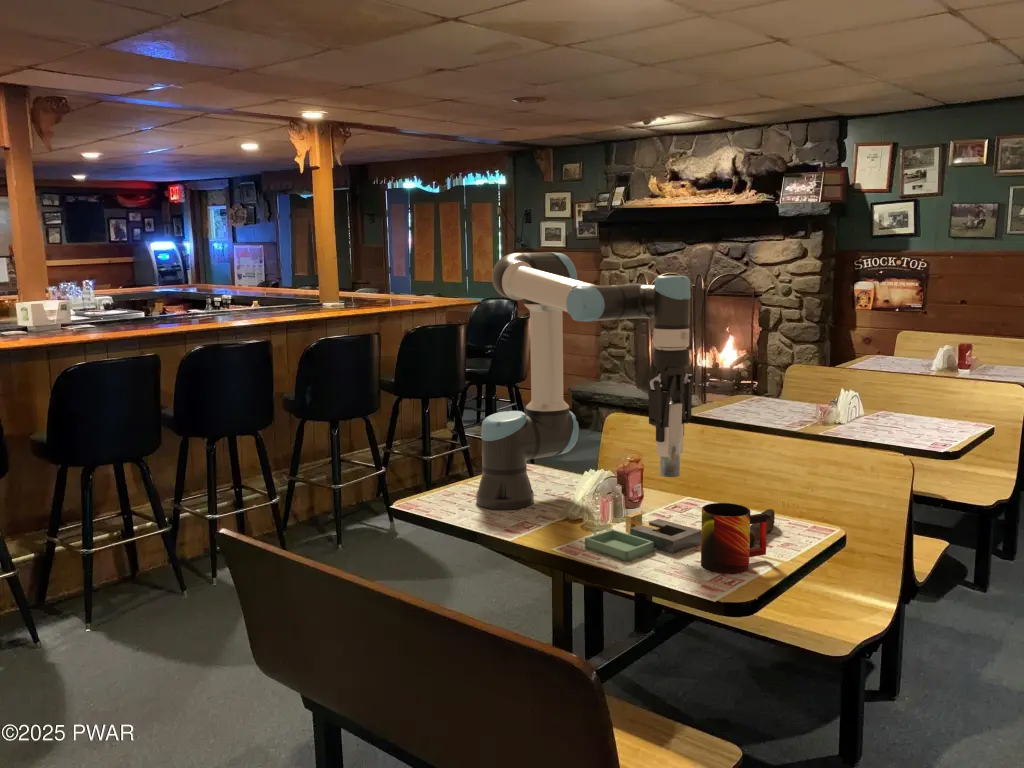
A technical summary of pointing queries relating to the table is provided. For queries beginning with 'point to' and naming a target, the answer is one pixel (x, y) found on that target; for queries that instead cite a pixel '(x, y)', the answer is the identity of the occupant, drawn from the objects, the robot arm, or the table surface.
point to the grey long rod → (673, 442)
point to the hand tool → (756, 527)
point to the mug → (729, 538)
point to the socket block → (668, 536)
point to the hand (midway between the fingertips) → (669, 453)
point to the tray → (619, 545)
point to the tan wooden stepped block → (637, 522)
